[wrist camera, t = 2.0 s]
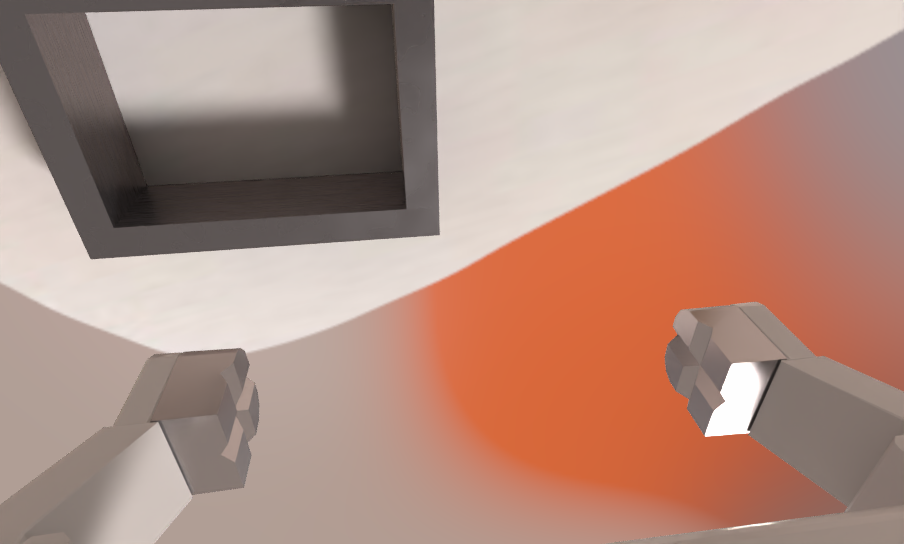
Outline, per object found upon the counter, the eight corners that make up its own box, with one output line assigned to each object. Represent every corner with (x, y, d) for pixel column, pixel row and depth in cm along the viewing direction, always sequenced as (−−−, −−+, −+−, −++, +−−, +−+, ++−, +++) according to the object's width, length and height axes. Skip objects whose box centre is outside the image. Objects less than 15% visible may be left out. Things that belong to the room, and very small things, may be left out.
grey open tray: (24, -45, 20) (-45, -35, 17) (423, -52, 21) (432, -44, 18) (126, 214, 26) (90, 259, 23) (431, 195, 27) (439, 234, 24)
